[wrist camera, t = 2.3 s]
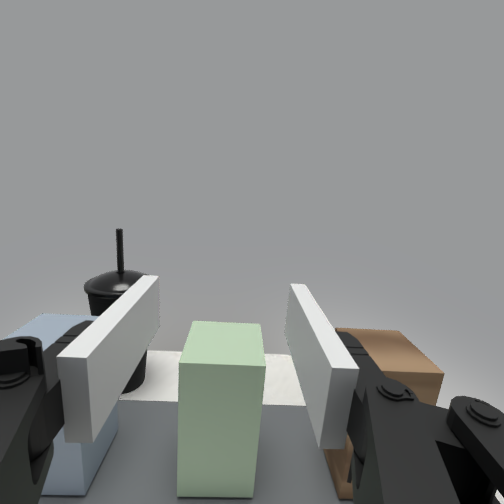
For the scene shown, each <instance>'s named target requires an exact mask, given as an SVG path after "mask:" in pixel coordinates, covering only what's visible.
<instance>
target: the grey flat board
mask: <svg viewBox="0 0 504 504" xmlns="http://www.w3.org/2000/svg"><path fill="white" fill-rule="evenodd" d="M117 409H118V430H117V432H116V434H115V436H114V438H113V440H112V442H111V444H110V446H109V448H108V450H107V452H106V454H105V456H104V458H103V460H102V462H101V464H100V466H99V468H98V470H97V472H96V474H95V476H94V478H93V480H92V482H91V484H90V486H89V488H88V490H87V492H86V494H85V495H41V496H40V499H39V503H38V504H353V499H339V498H338V494H337V491H336V488H335V485H334V482H333V479H332V475H331V472H330V469H329V466H328V463H327V459H326V456H325V453H324V450H323V449H319V447H318V444H317V440H316V437H315V434H314V430H313V427H312V423H311V420H310V417H309V413H308V410H307V407H306V406H291V405H262V411H261V421H260V431H259V441H258V451H257V462H256V472H255V482H254V492H253V498H250V497H177V454H178V402H167V401H136V400H117Z"/></svg>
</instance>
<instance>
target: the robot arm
mask: <svg viewBox="0 0 504 504" xmlns="http://www.w3.org/2000/svg"><path fill="white" fill-rule="evenodd" d="M159 318H160V316H159V276H148V275H143V276H142V277H141V278H140V279H139V280H138V281H137V282H136V283H135V284H134V285H133V286H131V287H130V288H129V289H128V290H127V291H126V292H125V293H124V294H123V295H122V296H121V297H120V298H119V299H118V300H116V301H115V302H114V303H113V304H112V305H111V306H110V307H109V308H108V309H107V310H106V311H105V312H104V313H102V314H101V315H100V316H99V317H98V318H97V319H96V320H95V321H92V320H85V321H83V322H81V323H79V324H77V325H75V326H73V327H71V328H70V329H69V330H68V331H67V332H66V333H64V334H63V336H61V337H60V338H58V339H57V340H56V341H55V343H52V344H51V345H50V346H49V347H48V348H47V349H45V350H44V351H43V347H42V341H41V340H40V339H39V338H36V337H32V336H19V337H13V338H7V339H4V340H0V504H38V503H39V499H40V496H41V493H42V490H43V487H44V484H45V480H46V477H47V474H48V471H49V468H50V465H51V461H52V458H53V455H54V443H53V439H54V438H55V437H56V435H57V434H58V432H59V431H60V430H61V428H62V427H64V437H65V443H93V442H94V441H95V439H96V437H97V435H98V434H99V432H100V430H101V428H102V427H103V425H104V423H105V421H106V420H107V418H108V416H109V414H110V413H111V411H112V409H113V407H114V406H115V404H116V402H117V400H118V399H119V397H120V395H121V393H122V392H123V390H124V388H125V386H126V385H127V383H128V381H129V379H130V378H131V376H132V374H133V372H134V371H135V369H136V367H137V365H138V364H139V362H140V360H141V358H142V357H143V355H144V353H145V351H146V350H147V348H148V346H149V344H150V343H151V341H152V339H153V337H154V336H155V334H156V332H157V330H158V328H159V327H160V326H159V322H160V320H159ZM285 336H286V339H287V343H288V346H289V349H290V352H291V356H292V359H293V363H294V366H295V369H296V373H297V376H298V380H299V383H300V386H301V390H302V393H303V396H304V400H305V403H306V407H307V410H308V413H309V417H310V420H311V423H312V427H313V430H314V434H315V437H316V440H317V444H318V447H319V449H344V448H345V442H346V437H347V433H348V436H349V438H350V440H351V443H352V445H353V447H354V448H353V453H352V458H351V463H350V468H349V473H348V478H347V482H348V483H351V481H352V488H353V504H500V502H499V501H498V500H497V498H496V497H495V493H496V491H497V490H498V491H499V492H500V493H501V495H502V496H503V497H504V414H503V413H502V412H501V411H500V410H498V409H497V408H495V407H493V406H491V405H490V404H488V403H486V402H484V401H480V400H479V399H476V398H471V397H466V396H456V397H455V398H453V399H452V400H451V403H450V407H449V409H445V408H441V407H437V406H434V405H430V404H426V403H423V402H420V401H419V399H418V398H417V396H416V395H415V393H414V392H413V391H412V390H411V389H410V388H408V387H407V386H406V385H404V384H402V383H401V382H399V381H397V380H394V379H391V378H388V377H386V376H385V375H384V373H383V372H382V371H381V369H380V368H379V367H378V365H377V364H376V363H375V361H374V360H373V359H372V358H371V356H369V354H368V352H367V351H366V350H365V349H364V347H363V346H362V344H361V343H360V342H359V340H358V339H357V338H355V337H354V336H352V335H351V334H350V333H348V332H340V331H335V330H334V329H333V327H332V326H331V324H330V322H329V321H328V320H327V318H326V316H325V315H324V313H323V312H322V310H321V309H320V307H319V305H318V304H317V302H316V301H315V300H314V298H313V296H312V295H311V293H310V291H309V290H308V288H307V287H306V285H304V284H290V289H289V298H288V307H287V316H286V325H285Z"/></svg>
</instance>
